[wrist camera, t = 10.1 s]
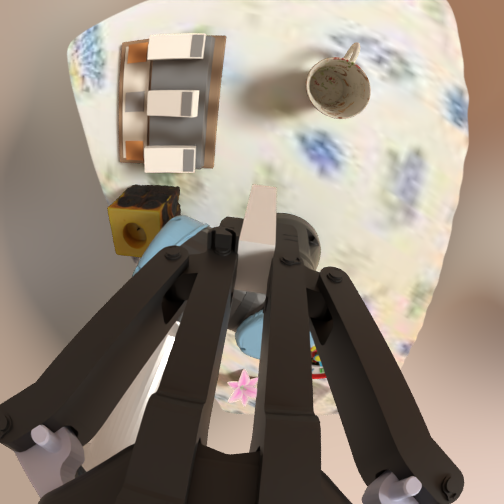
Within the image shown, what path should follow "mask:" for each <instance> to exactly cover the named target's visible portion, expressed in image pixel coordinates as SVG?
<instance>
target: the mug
mask: <svg viewBox="0 0 504 504" xmlns="http://www.w3.org/2000/svg"><path fill="white" fill-rule="evenodd" d="M359 52H360V44H359V43H357V42H356V43H354V44H353V45H352V46H351V47H350V48H349V50H348V51H347V53H346V55H345V56H344V58H338V57H332V58H327V59H324V60H322V61H320V62H318V63H317V64H315V65H314V66H313V67H312V69H311V70H310V72H309V74H308V76H307V80H306V91H307V95H308V97H309V99H310V101H311V103H312V104H313V105H314V107H315V108H316V109H317V110H319V111H320V112H321V113H323V114H325V115H327V116H329V117H332V118H336V119H346V118H351V117H354V116H356V115H358V114H359V113H360V112H362V111H363V110H364V108H365V107H366V106H367V104H368V102H369V99H370V93H371V89H370V83H369V80H368V78H367V76H366V74H365V73H364V71H363V70H362V69H361V68H360V67H359V66H358V65H356V64H355V61H356V59H357V57H358V54H359ZM352 53H353V54H352ZM351 54H352V56H351ZM350 56H351V58H350ZM349 58H350V60H349Z"/></svg>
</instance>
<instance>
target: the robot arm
mask: <svg viewBox="0 0 504 504" xmlns="http://www.w3.org/2000/svg"><path fill="white" fill-rule="evenodd" d="M276 204H277V187H270V186H263V185H256V184H253V185H252V189H251V193H250V197H249V201H248V205H247V209H246V213H245V217H244V219H242V218H234V217H226V218H224V219H223V220H222V221H221V223H220V226H219V227H214V228H211V227H209V226H210V225H208V224H203V223H201V222H199V221H197V220H194V219H192V218H190V217H188V216H185V215H179V216H176V217H174V218H172V219H171V220H169V221H168V222H167V223H166V224H165V225H164V227H163V228H162V229H161V230H160V231H159V232H158V234H157V235H156V236H155V238H154V239H153V240H152V242H151V243H150V245H149V246H148V248H147V249H146V251H145V252H144V254H143V255H142V257H141V259H140V261H139V263H138V265H137V267H136V269H135V271H134V272H133V275H132V278H131V279H130V280H129V281H128V282H127V283H126V284H125V285H124V286H123V287H122V288H121V289H120V290H119V291H118V292H117V293H116V294H115V295H114V296H113V297H112V298H111V299H110V300H109V301H108V302H107V303H106V304H105V305H104V306H103V307H102V308H101V309H100V310H99V311H98V312H97V313H96V314H95V315H94V317H93V318H92V319H91V320H90V321H89V322H88V323H87V324H86V325H85V326H84V327H83V328H82V330H80V332H79V333H78V334H77V335H76V336H75V337H74V338H73V339H72V341H71V342H70V343H69V344H68V345H67V346H66V347H65V348H64V349H63V351H62V352H61V353H60V354H59V355H58V356H57V358H56V359H55V360H54V361H53V362H52V363H51V365H50V366H49V367H48V368H47V369H46V370H45V372H44V373H43V374H42V375H41V376H40V378H39V379H38V380H37V381H36V383H34V384H32V385H31V386H29V387H27V388H26V389H24V390H23V391H21V392H20V393H18V394H17V395H15V396H13V397H11V398H10V399H8V400H7V401H5V402H4V403H2V404H0V443H2V444H3V445H5V446H6V447H8V448H10V449H12V450H13V451H14V452H15V454H16V456H17V458H18V460H19V462H20V464H21V466H22V467H23V469H24V471H25V473H26V474H27V476H28V478H29V480H30V482H31V483H32V485H33V487H34V488H35V490H36V492H37V493H38V495H39V496H40V498H41V499H40V501H39V502H38V504H352V503H351V502H350V501H349V500H348V499H347V497H346V496H345V495H344V494H343V493H342V492H341V491H340V490H339V489H338V487H337V486H336V485H335V484H334V483H333V482H332V481H331V479H330V478H329V477H328V476H327V475H326V474H325V473H324V472H323V471H322V470H321V428H320V421H319V418H318V417H317V416H316V415H315V414H314V411H313V386H312V363H311V347H312V346H313V345H314V344H315V347H316V349H317V352H318V355H319V358H320V360H321V363H322V366H323V369H324V372H325V375H326V377H327V380H328V383H329V386H330V389H331V392H332V395H333V398H334V400H335V403H336V406H337V409H338V412H339V415H340V418H341V421H342V424H343V427H344V430H345V433H346V436H347V439H348V442H349V445H350V448H351V452H352V455H353V458H354V461H355V463H356V466H357V468H358V471H359V473H360V475H361V477H362V479H363V481H364V482H365V484H366V485H367V486H368V487H367V489H366V490H365V493H364V495H363V497H362V503H363V504H451V503H453V502H454V501H455V500H457V499H458V497H459V496H460V494H461V492H462V491H463V487H464V477H463V475H462V473H461V471H460V470H459V469H458V467H457V466H456V465H455V464H454V463H453V462H452V461H451V459H450V458H449V457H448V456H447V455H446V454H445V452H444V451H443V450H442V449H441V448H440V447H439V446H438V444H437V443H436V442H435V441H434V440H433V439H432V438H431V436H430V433H429V431H428V429H427V426H426V424H425V422H424V419H423V417H422V415H421V413H420V410H419V408H418V406H417V404H416V402H415V399H414V397H413V395H412V393H411V391H410V389H409V387H408V385H407V383H406V381H405V379H404V376H403V374H402V372H401V370H400V368H399V366H398V364H397V362H396V360H395V358H394V357H393V355H392V353H391V351H390V349H389V347H388V345H387V343H386V341H385V339H384V338H383V336H382V334H381V332H380V330H379V328H378V327H377V325H376V323H375V321H374V319H373V317H372V316H371V314H370V312H369V310H368V309H367V307H366V305H365V303H364V302H363V300H362V298H361V296H360V295H359V293H358V291H357V290H356V288H355V286H354V285H353V283H352V281H351V280H350V278H349V276H348V275H347V274H346V273H345V272H344V271H342V270H341V269H339V268H336V267H325V268H323V269H322V270H321V272H317V271H316V269H317V266H318V263H319V260H320V255H321V247H320V242H319V238H318V235H317V233H316V231H315V230H314V228H313V227H312V226H311V225H310V224H309V223H308V222H307V221H305V220H304V219H302V218H300V217H298V216H295V215H291V214H285V213H278V214H276ZM227 329H229V330H232V331H234V332H236V333H235V339H236V342H237V345H238V346H239V347H240V349H241V351H242V352H243V353H245V354H246V355H248V356H250V357H253V358H256V359H260V363H259V374H258V384H257V395H256V405H255V415H254V425H253V434H252V441H251V446H250V451H249V453H242V454H231V455H230V454H224V453H222V452H219V451H217V450H214V449H212V448H210V447H207V446H206V445H207V436H208V429H209V423H210V417H211V412H212V407H213V401H214V396H215V390H216V385H217V380H218V374H219V369H220V364H221V358H222V353H223V348H224V343H225V337H226V332H227ZM92 438H93V439H92ZM91 439H92V442H91V443H88V442H89V441H90V440H91Z"/></svg>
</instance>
